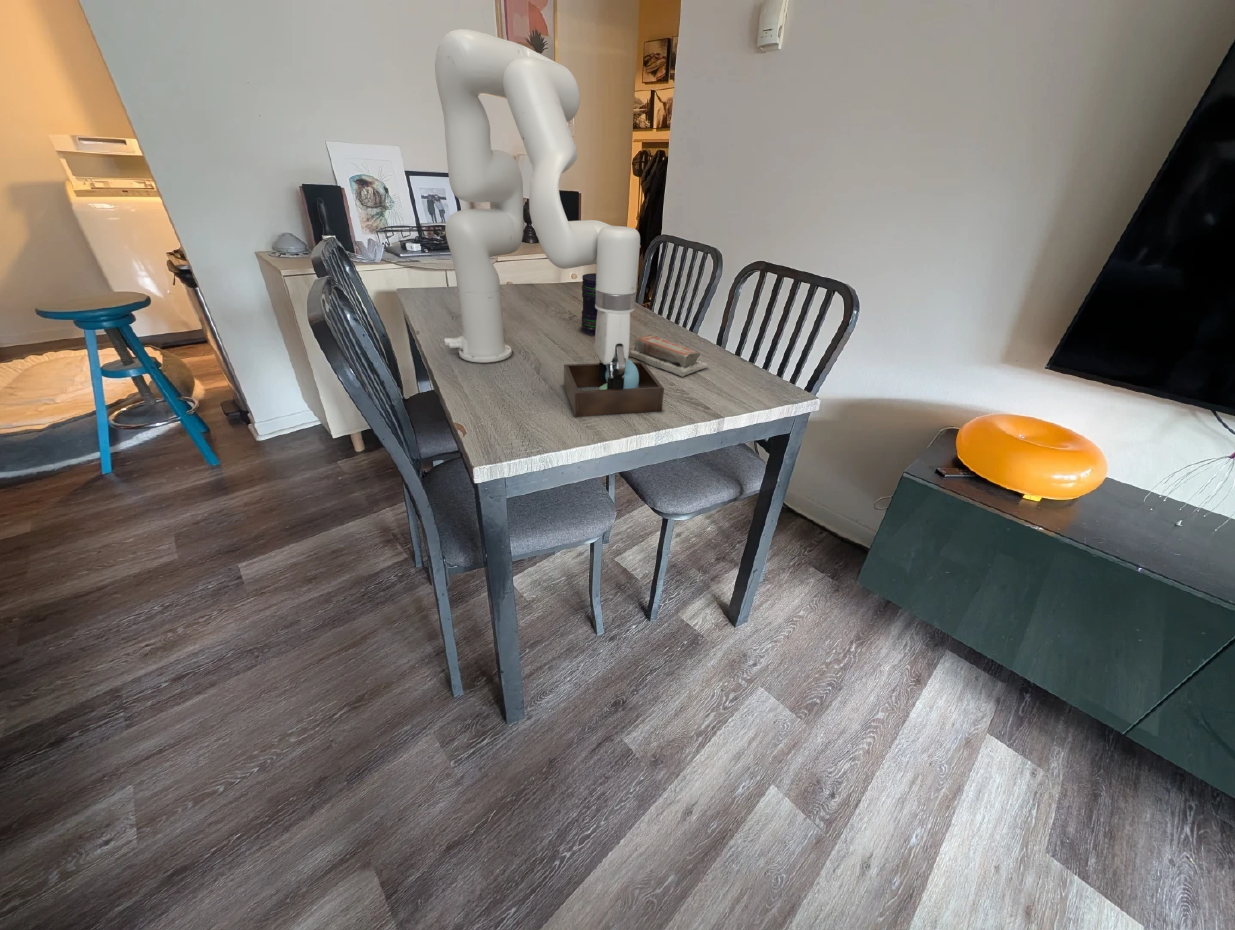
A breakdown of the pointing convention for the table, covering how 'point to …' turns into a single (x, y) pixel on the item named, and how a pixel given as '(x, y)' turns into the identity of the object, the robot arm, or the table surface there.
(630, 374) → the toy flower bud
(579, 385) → the crate
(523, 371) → the table surface
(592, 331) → the storage jar
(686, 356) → the packaged product
